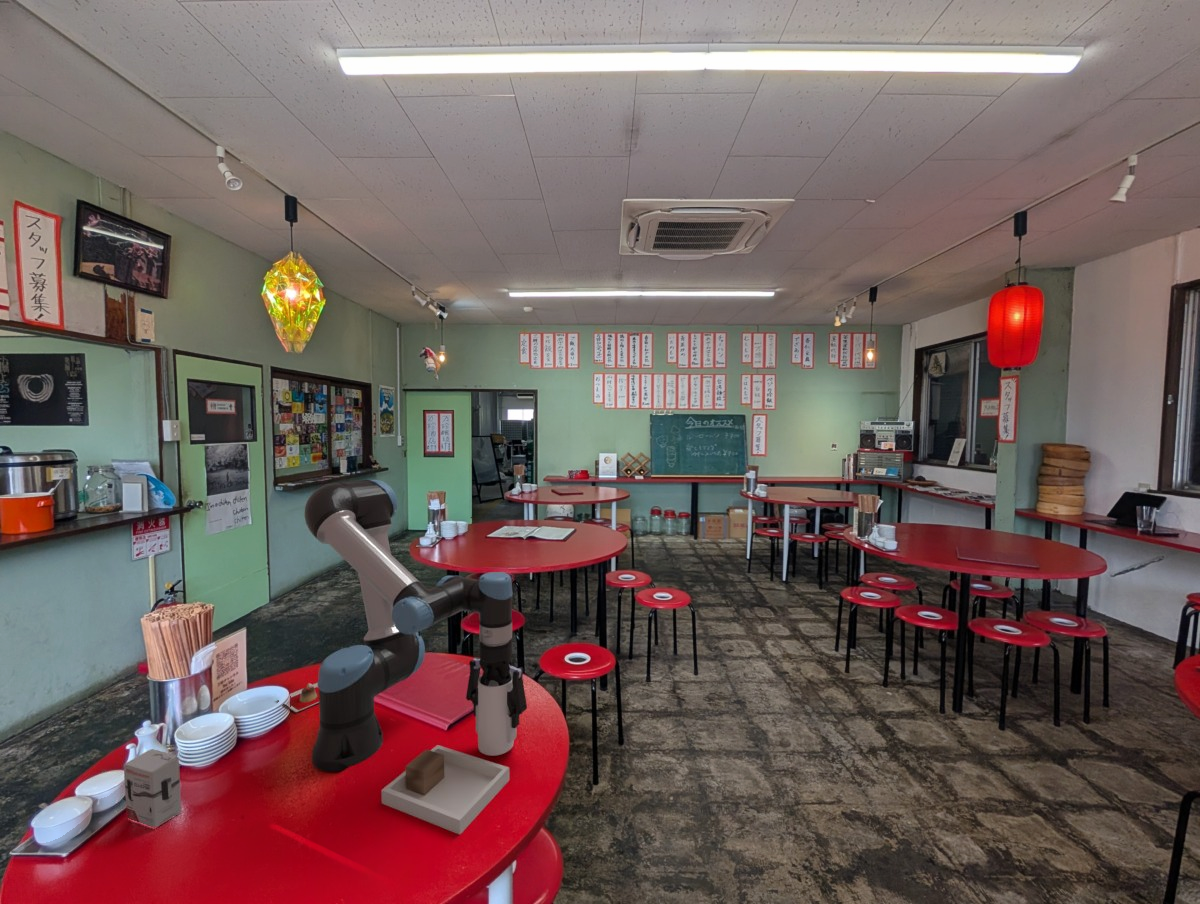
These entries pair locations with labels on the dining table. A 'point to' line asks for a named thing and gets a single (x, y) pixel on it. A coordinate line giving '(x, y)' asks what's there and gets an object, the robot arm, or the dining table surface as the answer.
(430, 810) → the tray
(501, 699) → the cup
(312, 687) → the dessert
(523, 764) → the dining table surface
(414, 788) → the walnut block
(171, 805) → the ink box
